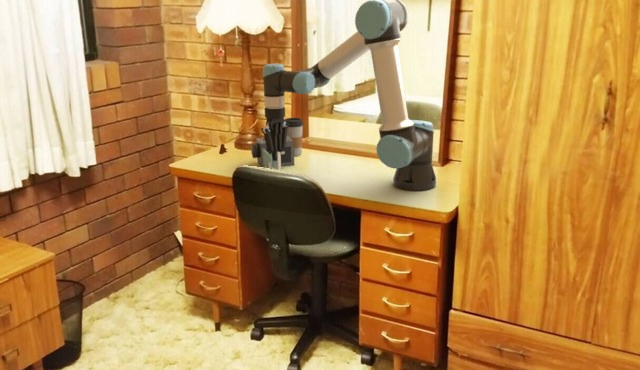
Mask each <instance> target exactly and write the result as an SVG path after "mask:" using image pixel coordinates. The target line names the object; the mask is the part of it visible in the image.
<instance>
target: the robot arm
mask: <svg viewBox="0 0 640 370" xmlns="http://www.w3.org/2000/svg"><path fill="white" fill-rule="evenodd" d="M408 22H409V11H408V8H407V6H406V4H405V3H404V2H403V1H402V0H367V1H365V2H363V3H362V4H361V5H360V7H359V8H358V9H357V12H356V13H355V19H354V23H355V24H354V25H355V28H356V32H355V33H353V34H352V35H351V36H350V37H349V38H347V39H346V40H344V41H343V42H342V43H341V44H339V45H338V46H337V47H336V48H334V49H333V50H331V52H329V53H328V54H327V55H325V56H324V57H323V58H322V59H321V60H319V61H318V62H316V63H315V65H313V66H312V67H308V68H306V69H301V70H296V71H295V70H285V68H284V67H285V65H283V64H281V63H268V64H265V65H264V66H263V67H262V81H263V82H262V83H263V95H264V97H263V99H264V102H263V103H264V107H265V108H264V117H265V119H266V122H265V126H264V127H262V128H261V129H260V131H261V132H262V133H263V137H264V138H265V142H266V146H267V151H269V152H272V160H273V169H276V170H281V169H282V166H281V152H283V151H284V150H282V149H285V145H286V137H287V130H288V127H289V123H286V122H285V120H284V119H285V118H286V107H285V106H286V99H285V98H286V97H285V93H292V94H300V95H303V94H305V95H306V94H307V95H309V94H311V93H312V91H314V89H317V88H322V87H325V86H326V85H327V84H329V82H330V81H331V79H332V78H333V77H335V76H337V74H339V73H341V72H342V71H343V70H345V69H346V68H348V66H349V65H351V64H352V63H354V62H355V61H357V60H358V59H359V58H361V57H362V56H364V55H365V54H366V53H367V52H369V51H370V53H371V61H372V67H373V72H374V79H375V84H376V85H375V86H376V91H377V97H378V103H379V109H380V115H381V123H382V124H381V125H380V126H379V128H378V131H379V132H378V133H379V140H378V142H377V144H376V156H377V157H378V159H379V161H380V162H381V163H382V164H383V165H385V166H386V167H387V168H390V169H395V172H394V175H393V179H392V181H393V182H392V184H393V186H395V187H396V188H399V189H402V190H406V191H419V192H420V191H426V190H428V191H429V190H431V189H434V188H435V187H436V186H437V176H436V174H435V170H434V167H433V152H434V151H433V148H434V134H435V130H434V124H433V123H432V122H431V121H426V120H419V119H418V120H417V119H410V118H409V112H408V107H407V106H408V105H407V102H406V95H405V88H404V87H405V86H404V81H403V75H402V67H401V61H400V55H399V49H398V44H399V42H401V40H402V37H401V31H403V30H405V27H406V26H407V25H408Z"/></svg>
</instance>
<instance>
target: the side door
mask: <svg viewBox="0 0 640 370" xmlns="http://www.w3.org/2000/svg"><path fill="white" fill-rule="evenodd" d="M262 167H266V168H270V169H274V168H273V163H272V156H271V155H270V154H269V153H268V152H267V151H266V150H265V149H264V148H262Z"/></svg>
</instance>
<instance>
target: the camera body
mask: <svg viewBox="0 0 640 370" xmlns="http://www.w3.org/2000/svg"><path fill="white" fill-rule="evenodd" d="M255 141H256V142H255V143H252V144H251V146H250V147H251V149H250V151H251V156H252V159H256V161H257V164H258V165H259V167H262V148H264V149H265V150H266V151H267V146H266V142H265V138H264V136H262V137H257V138H256V139H255ZM282 150H284V151H283V152H281V167H290V166H295V157H294V141H293V140H292V139H291V138H290V137H289V136H287V137H286V145H285V149H282ZM267 152H268V153H269V154H270V155H271V156H272V152H269V151H267ZM272 163H273V160H272Z"/></svg>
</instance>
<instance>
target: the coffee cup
mask: <svg viewBox="0 0 640 370" xmlns="http://www.w3.org/2000/svg"><path fill="white" fill-rule="evenodd" d="M284 120H285V122H286V123H289V127H288V130H287V136H289V137H290V138H291V139H292V140H293V141H294V158H295V157H300V156H301V155H302V151H303V150H302V148H303V126H304V121H303V119H302V118H301V117H300V118H299V117H287V118H284Z"/></svg>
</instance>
